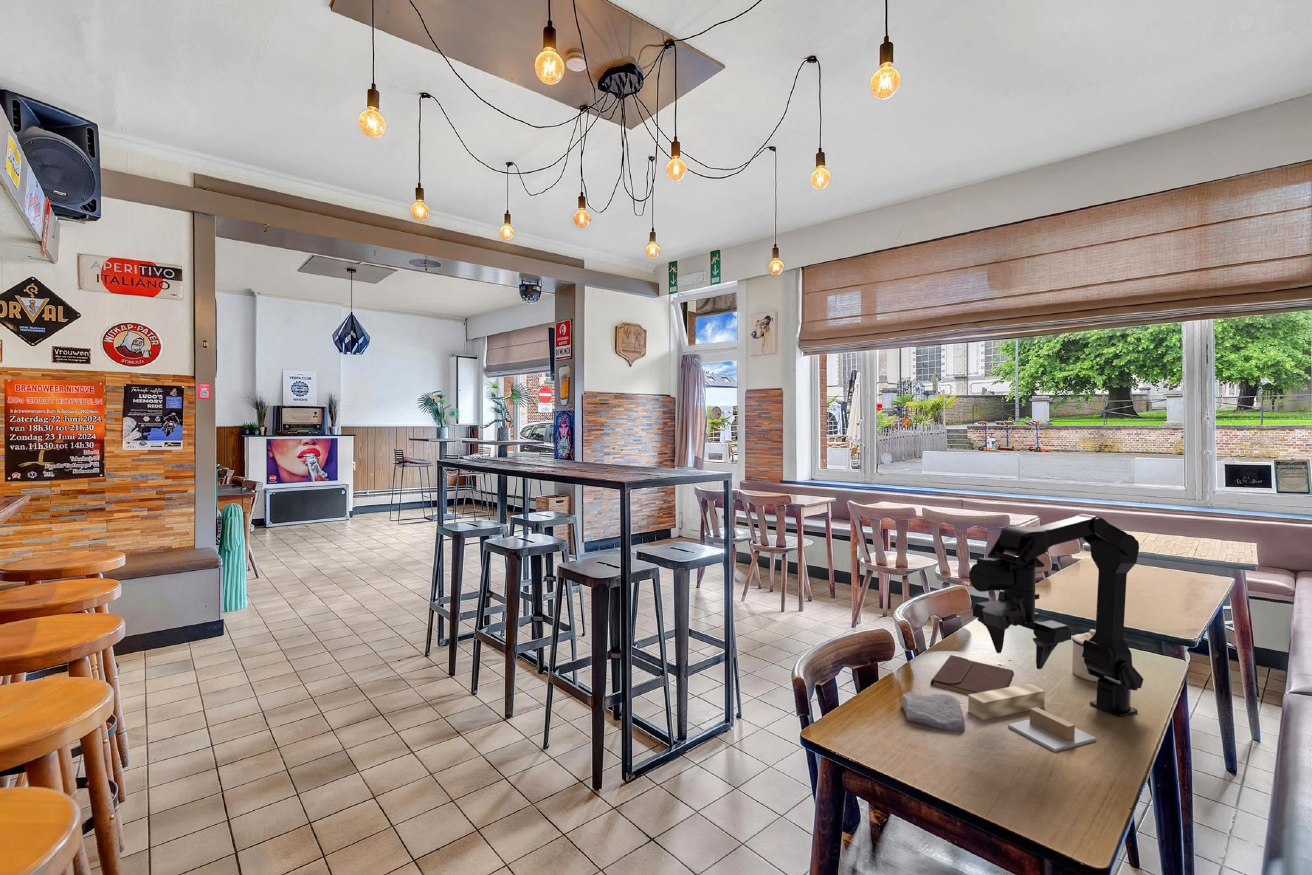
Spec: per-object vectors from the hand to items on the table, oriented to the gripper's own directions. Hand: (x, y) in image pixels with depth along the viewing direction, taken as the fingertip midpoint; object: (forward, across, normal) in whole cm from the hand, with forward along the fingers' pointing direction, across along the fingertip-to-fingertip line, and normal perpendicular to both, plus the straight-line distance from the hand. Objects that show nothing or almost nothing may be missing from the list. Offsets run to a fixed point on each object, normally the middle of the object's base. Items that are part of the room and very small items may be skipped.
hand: (1018, 660), depth 128 cm
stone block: (+13, -7, -16) cm, 22 cm away
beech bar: (+13, -5, +3) cm, 14 cm away
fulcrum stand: (+13, +6, +2) cm, 15 cm away
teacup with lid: (+14, -10, +41) cm, 44 cm away
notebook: (+14, -19, +9) cm, 25 cm away
